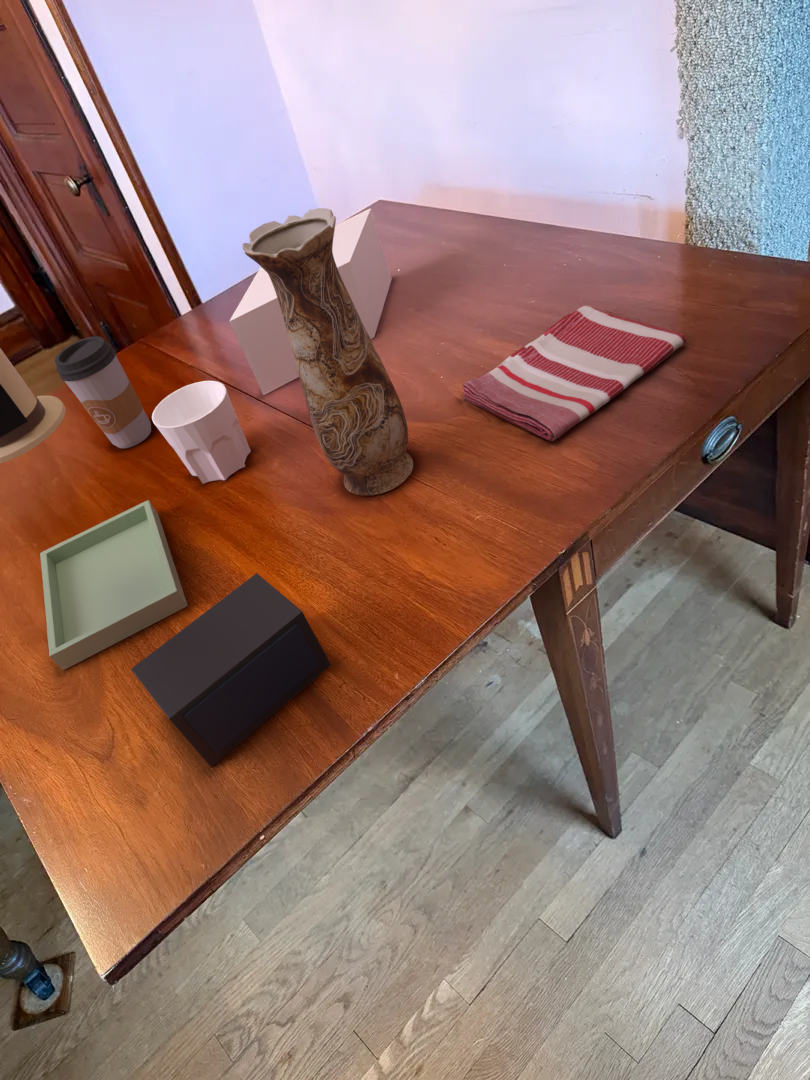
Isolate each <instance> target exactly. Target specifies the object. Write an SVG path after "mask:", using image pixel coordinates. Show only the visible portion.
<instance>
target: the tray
mask: <svg viewBox="0 0 810 1080" xmlns="http://www.w3.org/2000/svg"><path fill="white" fill-rule="evenodd" d="M39 556H40V567H41V577H42V587H43V588H42V589H43V601H44V611H45V621H46V632H47V645H48V653H49V654H48V655H49V657H50V658H51V660H52V661H53V662H54V663H55V664H56V665H57V666H58V667H59V668H60V669H61V670H62V671H65V670H67V669H68V668H69V669H70V668H71V667H73V666H75V665H77V664H78V663H81V662H83V661H85V660H86V659H89V658H90V657H92V656H94V655H96V654H98V653H100V652H102V651H104V650H107V648H109V647H112V646H113V645H115V644H117V643H120V642H121V641H123V640H125V639H127V638H129V637H132V636H133V635H135V634H137V633H138V632H141V631H143V630H144V629H146V628H148V627H150V626H153V625H154V624H156V623H158V622H160V621H162V620H164V619H165V618H167V617H170V616H171V615H173V614H176V613H177V612H179V611H181V610H184V609H185V608H187V607H188V602H187V599H186V597H185V594H184V590H183V587H182V584H181V581H180V577H179V574H178V572H177V568H176V566H175V562H174V559H173V556H172V553H171V549H170V547H169V543H168V540H167V537H166V534H165V531H164V528H163V525H162V521H161V518H160V515H159V513H158V512H157V510H156V508H155V507H154V506H153V504H152V503H151V501H150V500H149V499H147V500H145V501H143V502H141V503H139V504H137V505H135V506H132V507H130V508H128V509H127V510H124V511H122V512H120V513H119V514H116V515H115V516H113V517H110V518H108V519H106V520H104V521H102V522H100V523H98V524H96V525H94V526H92V527H90V528H88V529H86V530H83V531H82V532H80V533H78V534H76V535H74V536H71V537H70V538H68V539H65V540H64V541H61V542H59V543H57V544H55V545H53V546H51V547H49V548H47V549H45V550H42V551H41V552H40V553H39Z"/></svg>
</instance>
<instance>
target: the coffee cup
mask: <svg viewBox="0 0 810 1080" xmlns="http://www.w3.org/2000/svg"><path fill="white" fill-rule="evenodd" d="M54 363H55V365H56V372H57V374H59V377H60V379H61V380H62V381H63V382H64V383H65V384H66V385H67V387H68V388H69V389H70V391H71V392H72V393H73V395H74V396H75V397H76V398H77V399H78V401H79V402H80V404H81V406H82V407H83V409H84V410H85V411H86V412H87V413H88V415H89V416H90V417H91V419H92V420H93V421H94V422H95V424H96V425H97V426H98V428H99V429H100V430H101V431H102V433H104V435H105V437H106V438H107V439H108V441H109V442H110V443H111V444H112V445H113V446H115V447H117V448H118V449H128V448H132V447H135V446H137V445H139V444H140V443H142V442H143V441H145V440H146V439H147V438H148V437H149V436H150V434H151V433H152V423H151V421H150V419H149V417H148V415H147V413H146V411H145V410H144V407H143V404H142V402H141V401H140V398H139V396H138V394H137V393H136V390H135V388H134V386H133V384H132V382H131V381H130V379H129V377H128V376H127V374H126V372H125V370H124V368H123V366H122V363H120V361H119V358H118V356H117V352H116V350H115V349H114V348H113V346H112V344H111V343H110V342H108V341H106V340H105V339H104V337H102V336H98V335H95V336H93V335H92V336H88V337H85V338H82V339H79V340H77V341H75V342H73V343H71V344H69V345H67V346H65V348H63V349H62V350H61V351H60V352H59V353H58V354H57V355H55V358H54Z"/></svg>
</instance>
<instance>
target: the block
mask: <svg viewBox="0 0 810 1080" xmlns="http://www.w3.org/2000/svg"><path fill="white" fill-rule="evenodd" d="M332 253H333V257H334V260H335V263H336V266H337V269H338V271H339V274H340V276H341V278H342V280H343V283H344V285H345V287H346V289H347V291H348V293H349V296H350V298H351V300H352V302H353V304H354V306H355V309H356V311H357V313H358V315H359V317H360V319H361V321H362V323H363V325H364V327H365V329H366V331H367V333H368V335H369V337H370V339H371V340H372V339H374V338H375V337H376V333H377V330H378V326H379V323H380V320H381V316H382V313H383V310H384V307H385V306H384V305H385V303H386V300H387V296H388V293H389V290H390V286H391V284H392V280H393V278H392V275H391V271H390V268H389V265H388V261H387V258H386V254H385V251H384V247H383V244H382V241H381V237H380V234H379V230H378V226H377V223H376V220H375V217H374V213H373V210H372V207H370V208H368V209H365V210H364V211H361V212H360V213H358V214H356V215H353V216H351V217H350V218H347V219H345V220H343V221H341V222H339V223H337V224H335V230H334V237H333V247H332ZM228 323H229V325H230V327H231V329H232V331H233V333H234V335H235V338H236V340H237V342H238V344H239V347H240V349H241V351H242V353H243V355H244V357H245V359H246V361H247V364H248V366H249V368H250V370H251V372H252V374H253V376H254V379H255V381H256V383H257V386H258V387H259V389H260V391H261V394H262V396H265V395H267V394H270V393H271V392H273V391H275V390H276V389H278V388H281V387H282V386H285V385H286V384H288V383H290V382H292V381H294V380H296V379H298V378H299V374H298V370H297V366H296V362H295V358H294V355H293V351H292V347H291V344H290V340H289V337H288V333H287V329H286V326H285V322H284V319H283V315H282V311H281V308H280V305H279V301H278V298H277V295H276V292H275V289H274V287H273V284H272V282H271V279H270V277H269V275H268V273H267V272H266V271H265V270H264V269H263V268H262V267H261V266H259V269H258V271H257V272H256V274H255V276H254V278H253V279H252V281H251V283H250V285H248V288H247V290H246V291H245V293H244V295H243V297H242V298H241V300H240V302H239V303H238V304H237V307H236V309H235V310H234V312H233V314H232V316H231V317H230V319H229V321H228Z"/></svg>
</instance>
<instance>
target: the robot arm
mask: <svg viewBox="0 0 810 1080" xmlns="http://www.w3.org/2000/svg"><path fill="white" fill-rule="evenodd" d="M26 422H28V420H27V419H26V417H25V416H24V415H23V413H22V412H21V411H20V409H19V408H18V407H17V405H16V404H15V403H14V401H13V400H12V399H11V397H10V396H9V395H8V393H7V392H6V391H5V389H4V388H3V387H2V385H1V384H0V438H1V437H3V436H4V435H6V434H8V433H9V432H11V431H13V430H14V429H16V428H18V427H19V426H21V425H23V424H24V423H26Z"/></svg>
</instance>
